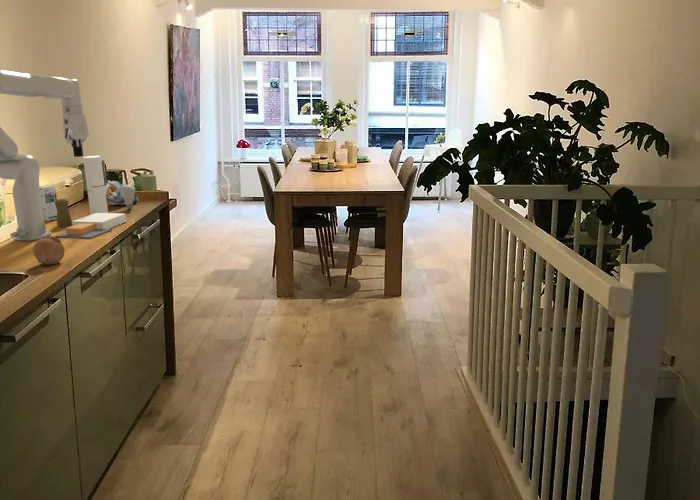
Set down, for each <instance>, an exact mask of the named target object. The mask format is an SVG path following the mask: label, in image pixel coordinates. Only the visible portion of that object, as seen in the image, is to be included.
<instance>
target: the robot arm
mask: <svg viewBox="0 0 700 500" xmlns="http://www.w3.org/2000/svg"><path fill="white" fill-rule="evenodd" d="M0 95H8V96H9V95H10V96H16V97H17V96H18V97H23V98H25V97H26V98H27V97H28V98H35V97H36V98H37V97H43V98H44V99H48V100H60V103H61V109H62V130H63V137H64V139H65V140H66V143H67V144H70V145H71V147H72V151H73V156H74V157H76V158H78V157H79V158H81V157H84V150H83V146H84V142H85V141H86V140H87V138H89V127H88V123H87V119H86V117H85V113H83V103H82V97H81V89H80V82H79V80H78V79H77V78H64V77H58V76H49V75H41V74H34V73H26V72H20V71H12V70H8V69H7V70H5V69H0ZM18 152H19V148H18V145H17V143H16V142H15V141H14V139H13V138H12V137H11V136H10V135H9V134H8V133H7V132H6V131H5V130H4V128H2V127H1V126H0V179H3V180H11V181H12V180H13V181H14V183H13V186H12V198H13V204H14V211H15V216H16V223H17V227H16V231H13V232H11V233H10V234H9V236H10V238H12V239H15V240H16V241H19V242H22V241H25V242H27V241H28V242H29V241H38V240H40V239H43V238H47V237H51V236H52V232H51V231H50V230H47V228H46V222H45V220H44V214H43V207H42V200H41V194H40V187H39V186H40V170H41V169H40V164H39V161H38V160H37V159H36V158H35V157H34V156H32V155H30V154H24V153H18Z"/></svg>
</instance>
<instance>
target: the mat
mask: <svg viewBox="0 0 700 500" xmlns="http://www.w3.org/2000/svg"><path fill="white" fill-rule="evenodd" d="M109 232H112V228H110V229H96V230H94V231H91V232H88V233H86V234H83V235H72V234H67V233H66V231H64V232H61V233H59V234H55V235H54V236H55V237H57V238H58V239H61V238H63V239H64V238H65V239H66V238H67V239H89V240H90V239H94V238H96V237H99V236H102V235H103V234H107V233H109Z"/></svg>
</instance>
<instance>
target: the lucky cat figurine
mask: <svg viewBox="0 0 700 500" xmlns="http://www.w3.org/2000/svg"><path fill="white" fill-rule="evenodd" d="M104 185H105V193H106V199H108V200H109V203H110V205H111V206H116V205H117V206H118V205H119V206H120V205H125V206H126V204H125V200H124V198H123V197H122V195H121V193H120V190H121V188H122V187H123V186H124V185H123V184H121V183H120V182H119V181H117V180H112V181H111V179H108V180H107V181H106V180H104ZM125 185H128V184H127V183H125ZM138 202H139V198H138V197H137V196H136V193H135V194H134V196H133V203H132V206H134V205H136V204H137V203H138Z"/></svg>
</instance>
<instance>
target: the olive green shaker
mask: <svg viewBox="0 0 700 500" xmlns="http://www.w3.org/2000/svg"><path fill="white" fill-rule="evenodd" d="M69 204H70V202H69V200H68V199H67V198H57V200H56V201H55V206H56V207H57V219H56V226H57V228H68V227H71V226H72V221H73V220H72V217H71V214H70V210H69Z"/></svg>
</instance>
